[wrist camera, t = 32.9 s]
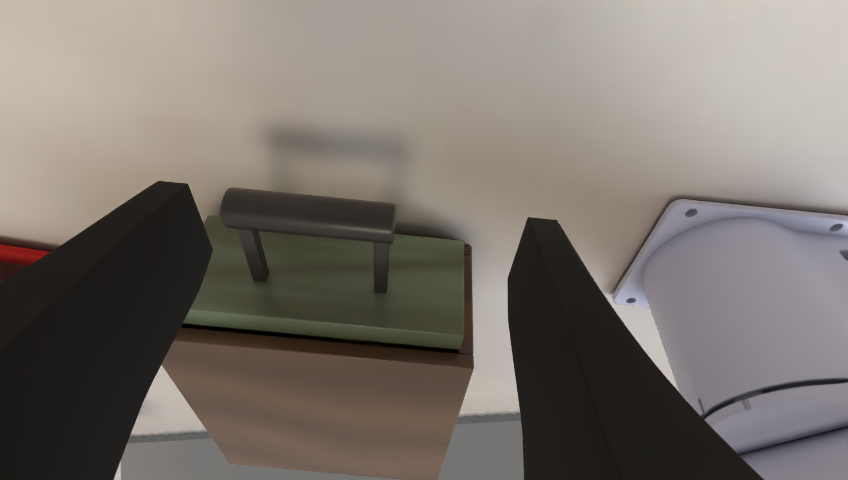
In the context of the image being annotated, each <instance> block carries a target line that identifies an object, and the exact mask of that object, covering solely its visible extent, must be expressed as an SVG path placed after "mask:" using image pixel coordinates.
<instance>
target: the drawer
mask: <svg viewBox="0 0 848 480" xmlns="http://www.w3.org/2000/svg"><path fill="white" fill-rule="evenodd" d="M396 213H397V206H396V204H393V203H383V202H373V201H363V200H353V199H342V198H332V197H322V196H312V195H302V194H292V193H282V192H272V191H262V190H252V189H242V188H229V189H228V190H227V191H226V192H225V194H224V196H223V200H222V205H221V217H217V216H208V217H207V219H206V220H205V222H204V224H203V225H204V227H205V230H206V232H207V235H208V238H209V240H210V243H211V245H212V248H213V252H212V255H211V258H210V261H209V264H208V268H207V271H206V274H205V276H204V279H203V282H202V284H201V287H200V290H199V292H198V294H197V296H196V298H195V300H194V302H193V304H192V306H191V308H190V310H189V312H188V314H187V316H186V318H185V320H184V322H183V323H184V324H194V325H193V327H192V328H193V329H204V330H215V331H225V332H236V333H246V334H257V335H267V336H276V335H277V332H279V333H290V334H300V335H311V336H321V337H332V338H342V339H353V340H363V341H374V342H384V343H395V344H403V346H402V348H404V349H415V350H425V351H436V352H444V348H447V349H458V350H460V349H461V345H462V341H463V337H464V241H460V240H450V239H440V238H430V237H420V236H410V235H400V234H395V226H396Z"/></svg>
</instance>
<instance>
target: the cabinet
mask: <svg viewBox="0 0 848 480" xmlns="http://www.w3.org/2000/svg"><path fill="white" fill-rule="evenodd" d="M471 256H472V247H471V246H466V245H464V337H463V341H462V345H461V349H460V350H458V349H447V348H444V352H436V351H425V350H415V349H404V348H394V347H383V346H373V345H362V344H352V343H341V342H331V341H320V340H309V339H299V338H288V337H278V336H267V335H257V334H246V333H236V332H225V331H215V330H204V329H193V328H192V327H193V325H194V324H184V323H183V324H182V326H181V328H180V330H179V332H178V333H177V335H176V337H175V339H174V341H173V343H172V345H171V347H170V349H169V351H168V353H167V355H166V357H165V358H164V360H163V362H162V364H161V365H162V366H163V368H164V369H165V370H166V372H167V373H168V375H169V376H170V378H171V379H172V381H173V382H174V383H175V385H176V386H177V388H178V389H179V391H180V392H181V394H182V395H183V396H184V398H185V399H186V401H187V402H188V404H189V405H190V407H191V408H192V409H193V411H194V412H195V414H196V415H197V417H198V418H199V420H200V421H201V422H202V424H203V425H204V427H205V428H206V430H207V431H208V433H209V434H210V436H211V437H212V438H213V440H214V441H215V443H216V444H217V445H218V447H219V449H220V450H221V451H222V452H223V454H224V456H225V457H226V458H227V460H228V462H229V463H230V464H239V465H249V466H259V467H270V468H282V469H293V470H303V471H314V472H326V473H337V474H348V475H359V476H370V477H381V478H392V479H403V480H438V477H439V474H440V471H441V467H442V464H443V461H444V458H445V455H446V452H447V449H448V446H449V443H450V440H451V437H452V434H453V430H454V427H455V424H456V421H457V418H458V415H459V412H460V409H461V406H462V403H463V400H464V397H465V393H466V390H467V387H468V384H469V381H470V378H471V375H472V372H473V369H474V357H473V302H472V257H471Z"/></svg>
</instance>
